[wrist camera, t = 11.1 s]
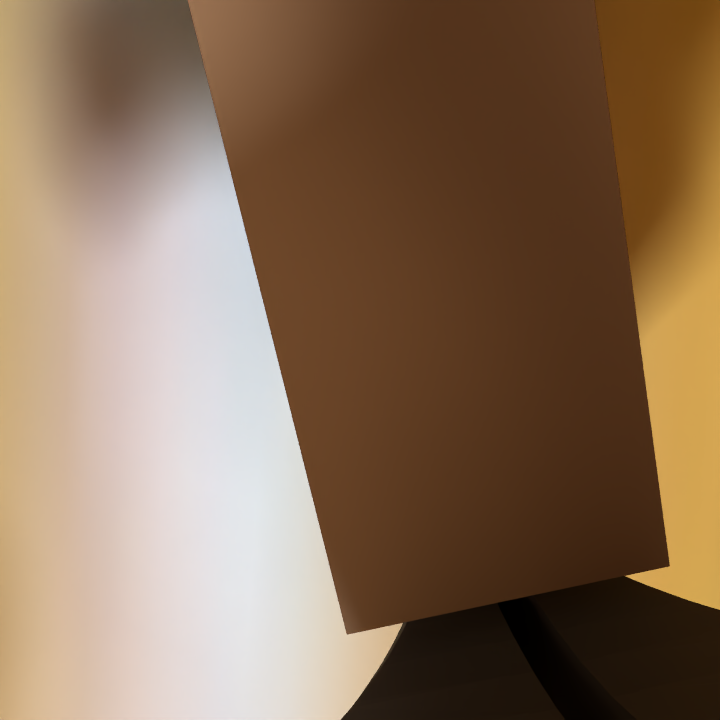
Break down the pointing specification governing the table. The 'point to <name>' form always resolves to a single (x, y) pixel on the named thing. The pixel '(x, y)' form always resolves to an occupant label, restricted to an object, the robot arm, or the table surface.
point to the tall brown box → (443, 291)
